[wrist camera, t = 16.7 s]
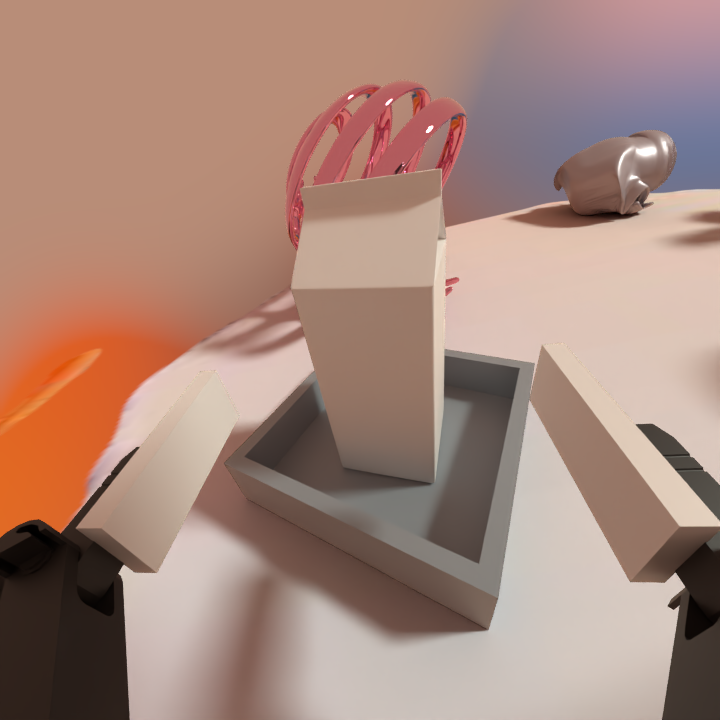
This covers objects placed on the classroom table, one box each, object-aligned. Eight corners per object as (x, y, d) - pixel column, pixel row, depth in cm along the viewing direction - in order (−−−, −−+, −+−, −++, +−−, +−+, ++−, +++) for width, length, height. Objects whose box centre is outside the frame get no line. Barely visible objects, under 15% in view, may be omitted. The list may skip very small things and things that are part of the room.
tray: (356, 366, 37) (349, 334, 34) (525, 402, 28) (534, 363, 26) (246, 498, 24) (223, 463, 22) (488, 629, 16) (498, 598, 13)
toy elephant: (539, 217, 82) (542, 153, 73) (599, 190, 82) (610, 123, 72) (605, 237, 66) (619, 160, 57) (679, 203, 66) (706, 121, 57)
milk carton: (435, 485, 22) (432, 180, 11) (342, 469, 24) (264, 201, 13) (443, 413, 27) (447, 160, 16) (366, 405, 30) (325, 178, 19)
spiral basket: (581, 123, 36) (392, 1, 38) (483, 259, 24) (214, 70, 26) (460, 275, 61) (351, 197, 63) (383, 378, 49) (252, 278, 51)
